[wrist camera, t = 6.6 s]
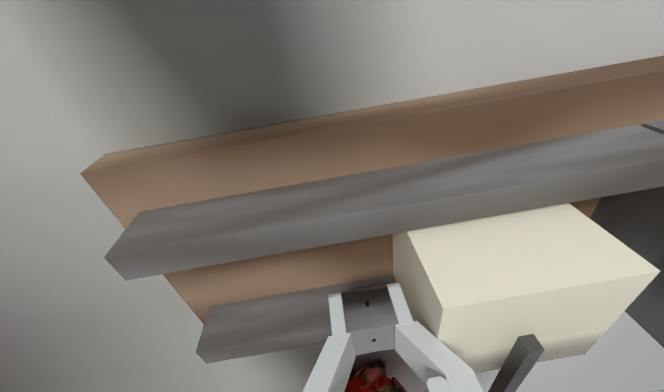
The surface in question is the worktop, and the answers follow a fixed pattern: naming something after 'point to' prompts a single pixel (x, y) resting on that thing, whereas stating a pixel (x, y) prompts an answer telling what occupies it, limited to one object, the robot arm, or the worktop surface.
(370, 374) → the dragon fruit
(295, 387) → the worktop surface
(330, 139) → the base
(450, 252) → the cream block with rod
